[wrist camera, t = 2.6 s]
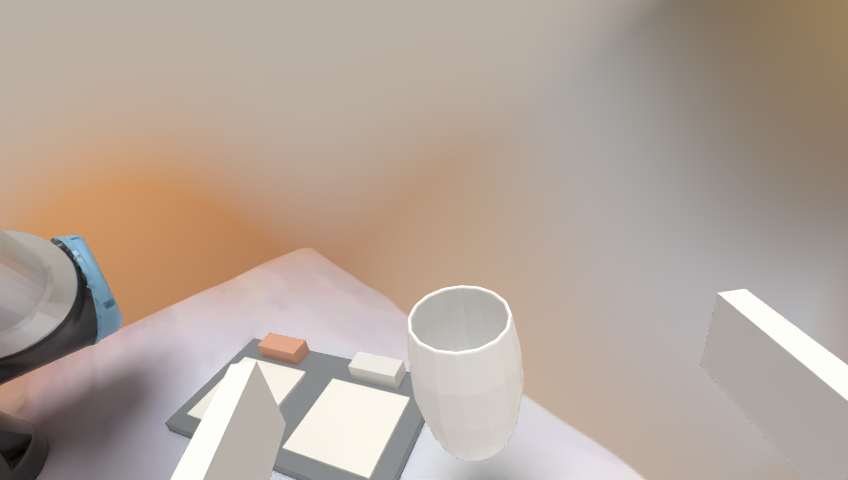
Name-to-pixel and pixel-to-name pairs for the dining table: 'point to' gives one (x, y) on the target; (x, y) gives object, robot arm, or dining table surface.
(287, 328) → the dining table surface
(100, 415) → the dining table surface
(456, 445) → the cup
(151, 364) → the dining table surface
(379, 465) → the coaster board
